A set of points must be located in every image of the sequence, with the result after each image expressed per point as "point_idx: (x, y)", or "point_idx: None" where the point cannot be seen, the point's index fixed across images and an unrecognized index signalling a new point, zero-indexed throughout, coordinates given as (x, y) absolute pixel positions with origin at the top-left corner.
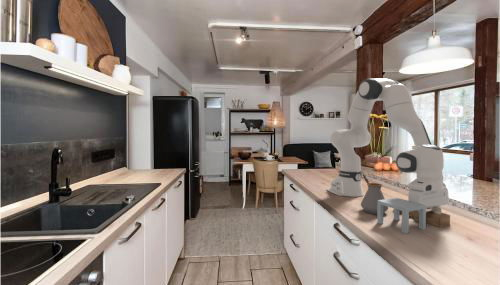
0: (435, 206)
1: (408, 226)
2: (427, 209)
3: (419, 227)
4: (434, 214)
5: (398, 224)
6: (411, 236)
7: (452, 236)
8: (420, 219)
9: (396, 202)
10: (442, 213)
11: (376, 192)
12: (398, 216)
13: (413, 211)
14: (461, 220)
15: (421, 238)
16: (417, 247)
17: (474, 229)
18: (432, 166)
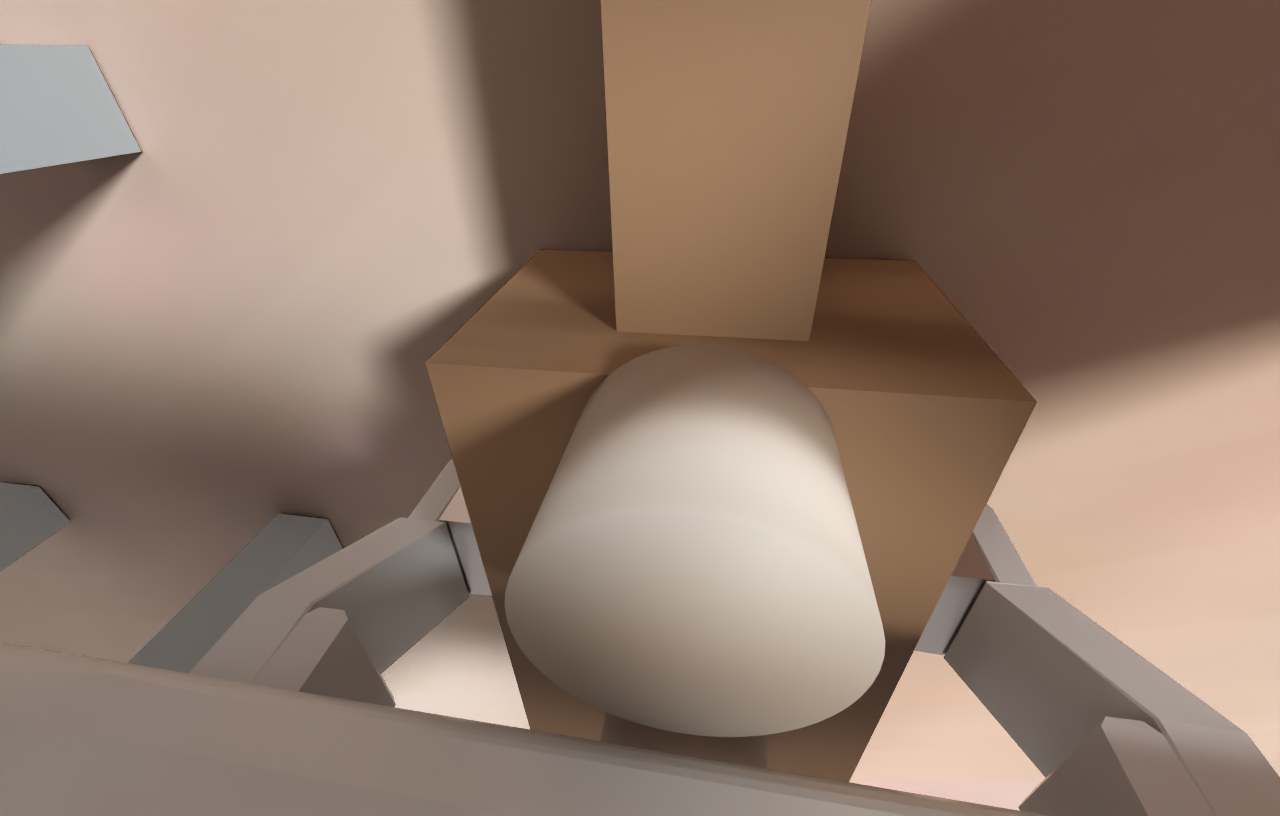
0: (1074, 800)
1: None
2: (875, 547)
3: (269, 529)
4: (581, 712)
5: (36, 308)
6: (73, 561)
7: (467, 702)
8: (170, 646)
9: None
10: (807, 764)
11: None
12: (3, 169)
13: (621, 168)
14: (1271, 663)
15: (151, 610)
16: (43, 641)
17: (885, 761)
18: None
